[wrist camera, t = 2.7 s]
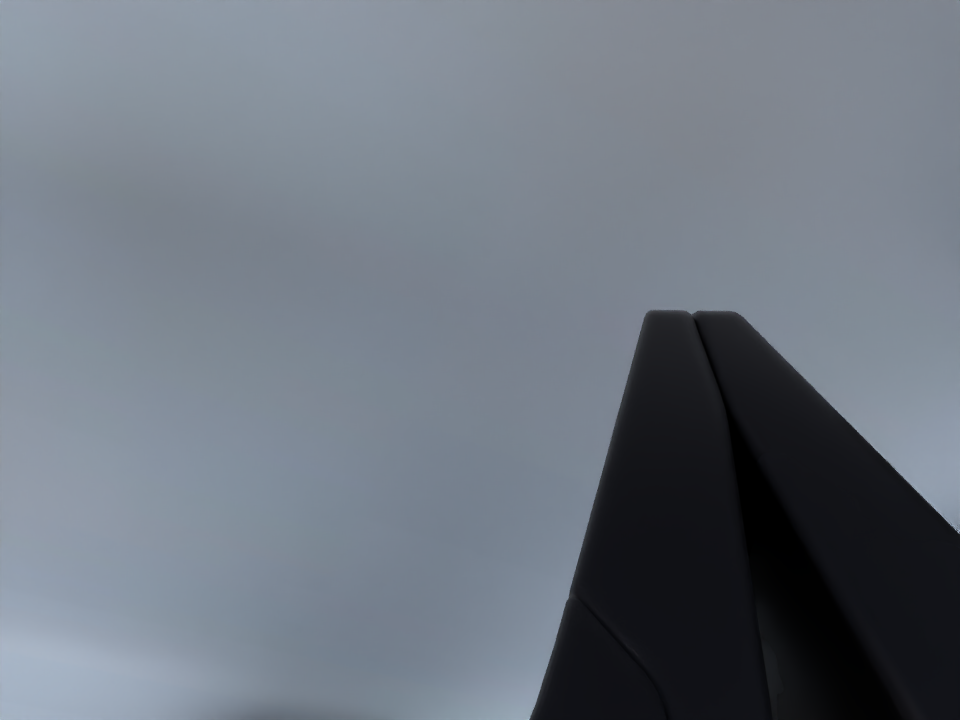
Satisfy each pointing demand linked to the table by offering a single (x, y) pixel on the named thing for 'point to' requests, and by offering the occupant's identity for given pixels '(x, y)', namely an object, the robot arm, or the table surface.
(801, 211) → the table surface
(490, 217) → the table surface
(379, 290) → the table surface
